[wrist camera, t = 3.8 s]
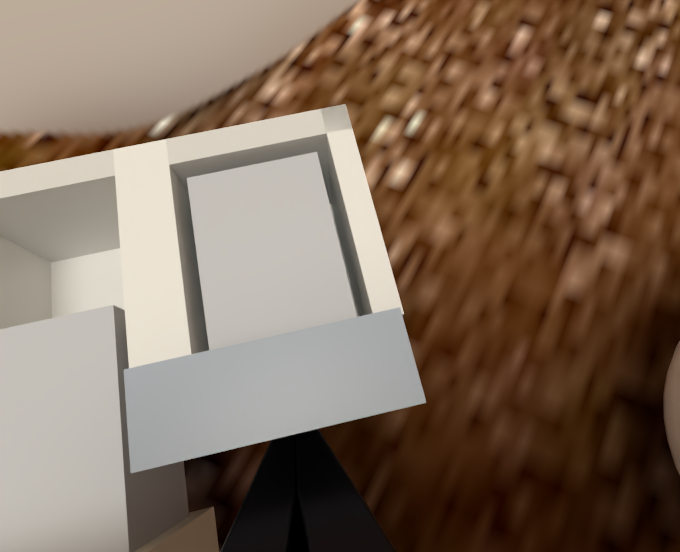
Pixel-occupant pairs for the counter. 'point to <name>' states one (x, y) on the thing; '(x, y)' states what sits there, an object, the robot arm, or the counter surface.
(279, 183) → the drawer slate
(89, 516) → the button tan
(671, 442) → the lidded jar
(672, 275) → the counter surface
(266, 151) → the gray divided box
